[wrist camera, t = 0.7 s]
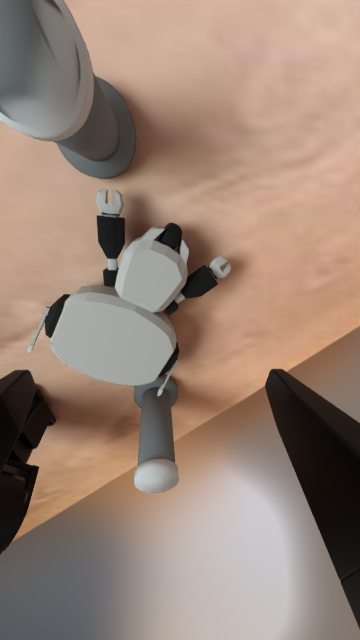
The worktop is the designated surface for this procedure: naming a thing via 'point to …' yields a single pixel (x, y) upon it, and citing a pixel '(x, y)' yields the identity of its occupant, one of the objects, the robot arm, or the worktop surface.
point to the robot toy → (128, 304)
